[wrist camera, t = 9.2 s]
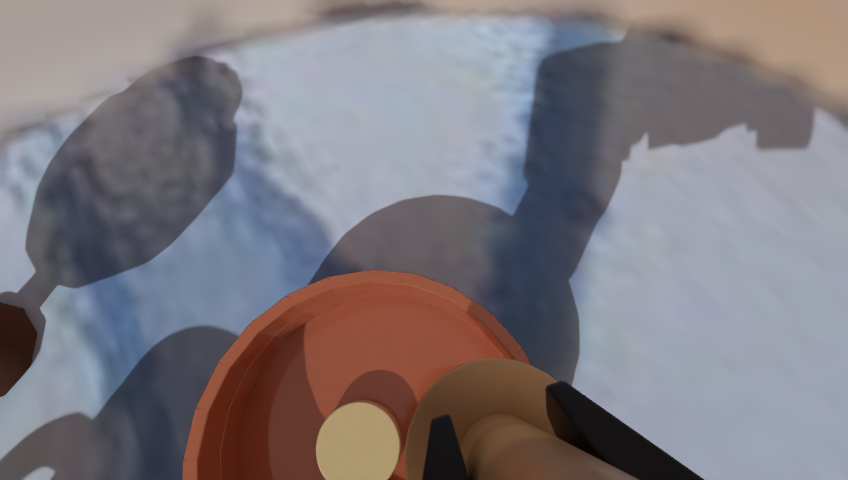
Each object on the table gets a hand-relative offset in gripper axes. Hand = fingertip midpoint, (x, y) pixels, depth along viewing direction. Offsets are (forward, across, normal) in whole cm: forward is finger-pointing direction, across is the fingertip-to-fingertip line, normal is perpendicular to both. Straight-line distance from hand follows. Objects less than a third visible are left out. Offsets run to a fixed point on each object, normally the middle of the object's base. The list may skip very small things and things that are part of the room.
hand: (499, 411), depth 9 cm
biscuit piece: (+8, +5, +10) cm, 14 cm away
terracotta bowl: (+9, +4, +10) cm, 14 cm away
